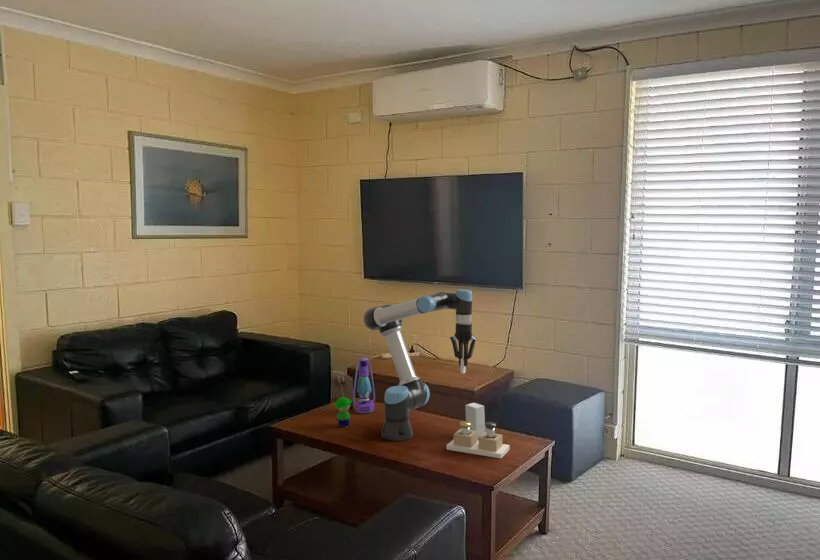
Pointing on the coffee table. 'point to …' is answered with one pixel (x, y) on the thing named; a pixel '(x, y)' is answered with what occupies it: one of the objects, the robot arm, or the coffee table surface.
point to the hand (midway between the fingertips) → (463, 372)
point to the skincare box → (476, 417)
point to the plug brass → (465, 427)
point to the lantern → (364, 388)
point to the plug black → (490, 429)
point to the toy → (344, 410)
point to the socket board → (478, 444)
